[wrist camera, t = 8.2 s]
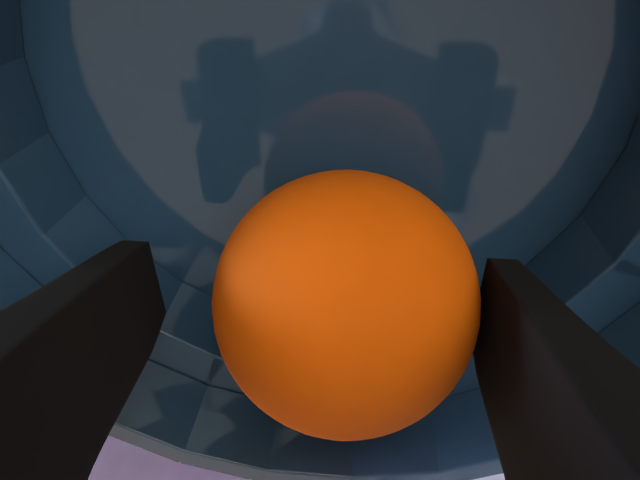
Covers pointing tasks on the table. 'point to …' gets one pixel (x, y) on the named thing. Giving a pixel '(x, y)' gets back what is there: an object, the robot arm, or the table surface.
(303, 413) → the orange
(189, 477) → the table surface
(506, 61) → the bowl
